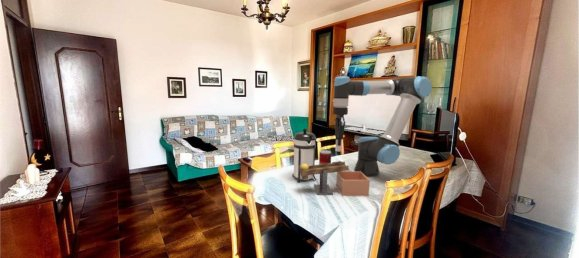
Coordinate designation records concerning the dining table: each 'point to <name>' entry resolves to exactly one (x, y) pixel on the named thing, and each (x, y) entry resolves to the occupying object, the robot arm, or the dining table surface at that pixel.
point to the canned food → (324, 157)
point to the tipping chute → (319, 169)
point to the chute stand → (323, 185)
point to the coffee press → (304, 152)
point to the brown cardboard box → (352, 183)
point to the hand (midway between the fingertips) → (338, 151)
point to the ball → (304, 167)
